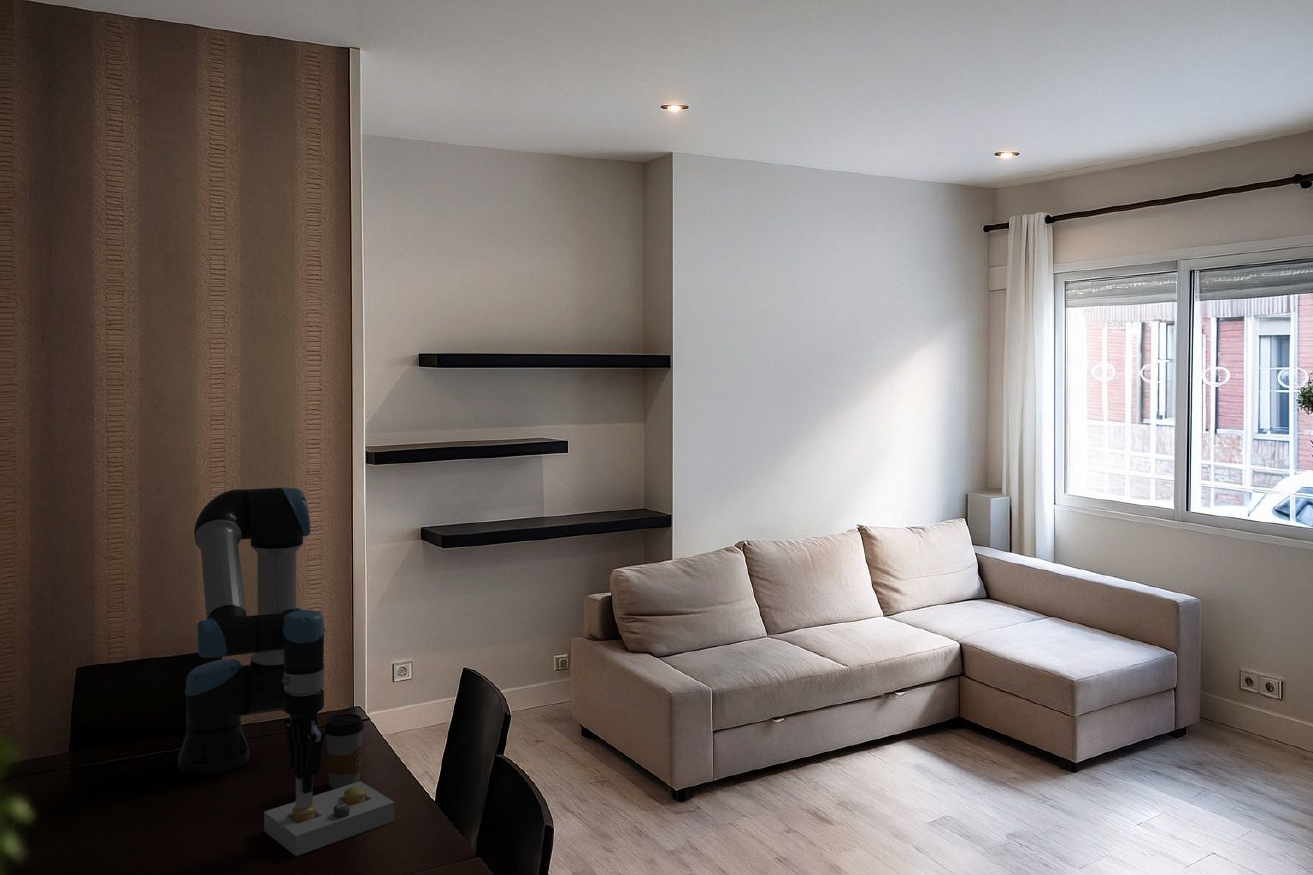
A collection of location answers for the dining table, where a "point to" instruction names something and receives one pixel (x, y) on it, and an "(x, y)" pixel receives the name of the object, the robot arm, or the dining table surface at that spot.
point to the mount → (328, 819)
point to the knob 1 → (304, 813)
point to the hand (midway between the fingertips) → (304, 806)
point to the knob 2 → (354, 795)
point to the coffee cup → (344, 749)
